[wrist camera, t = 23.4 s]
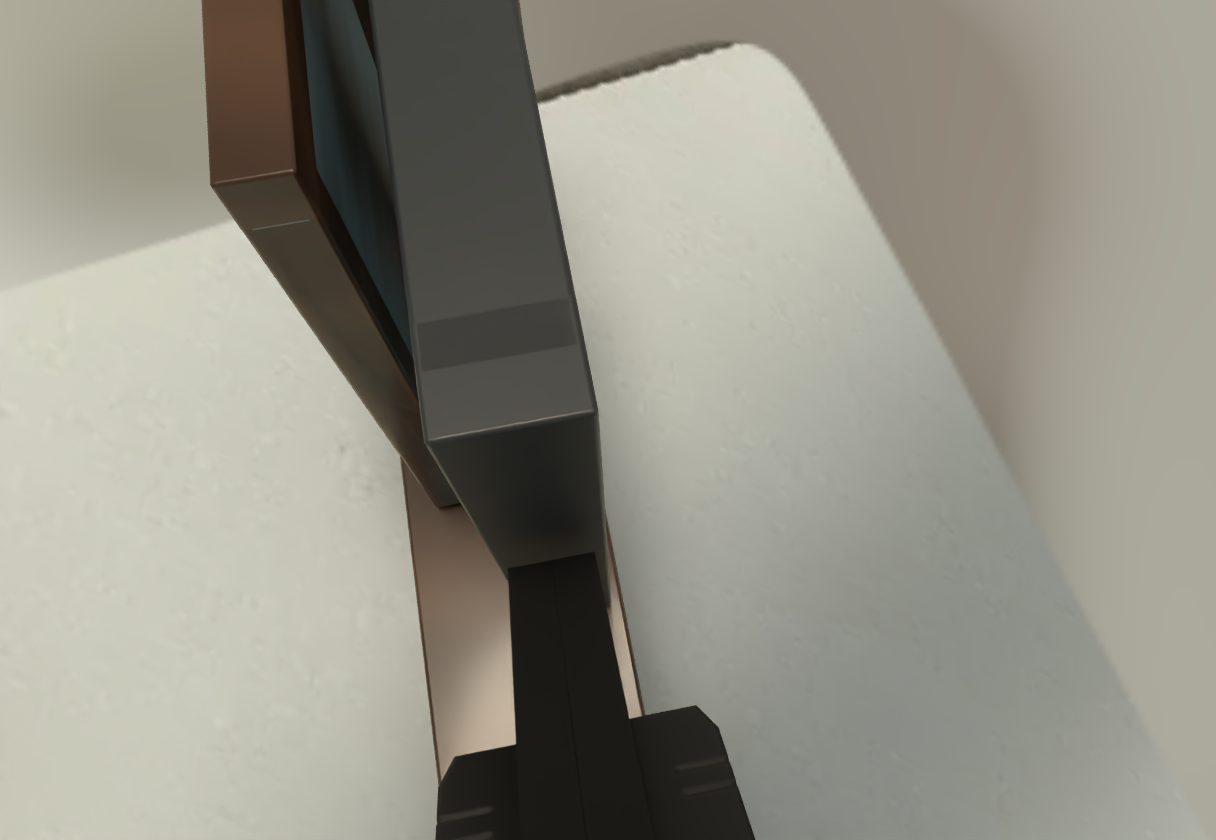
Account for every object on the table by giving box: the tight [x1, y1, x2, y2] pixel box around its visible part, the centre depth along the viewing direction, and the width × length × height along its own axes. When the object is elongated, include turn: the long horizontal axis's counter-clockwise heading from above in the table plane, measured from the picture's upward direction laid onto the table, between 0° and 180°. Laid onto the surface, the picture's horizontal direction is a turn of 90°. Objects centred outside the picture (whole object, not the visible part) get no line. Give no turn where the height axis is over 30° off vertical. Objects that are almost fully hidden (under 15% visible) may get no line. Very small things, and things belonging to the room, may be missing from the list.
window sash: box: [368, 0, 611, 606], centre depth 18 cm, size 9×2×13 cm, turn 11°
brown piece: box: [202, 0, 645, 785], centre depth 18 cm, size 19×5×15 cm, turn 11°
